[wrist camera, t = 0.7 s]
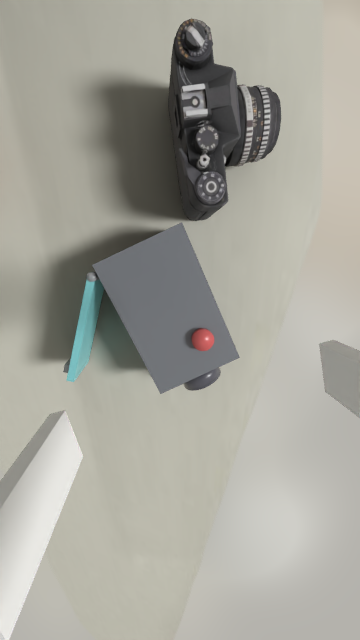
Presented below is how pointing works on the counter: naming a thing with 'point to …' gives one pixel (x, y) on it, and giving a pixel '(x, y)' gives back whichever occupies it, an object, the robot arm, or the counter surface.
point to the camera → (214, 120)
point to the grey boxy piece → (168, 310)
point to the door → (85, 326)
